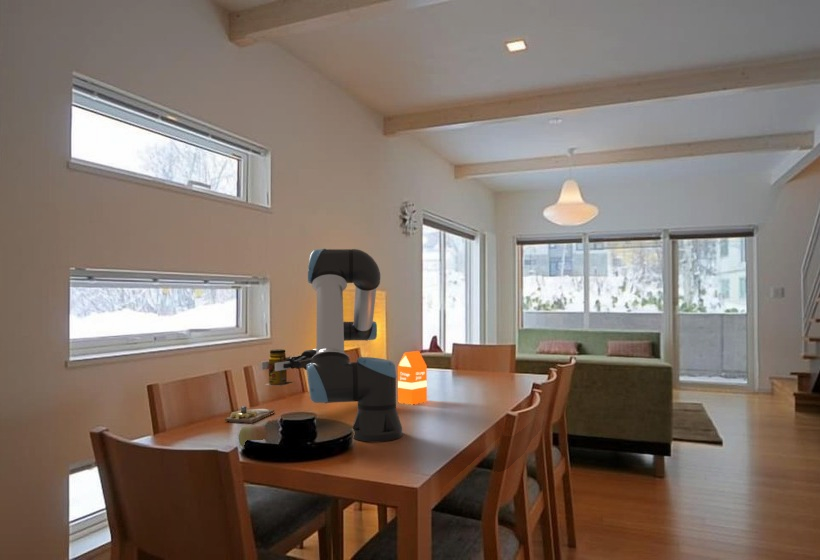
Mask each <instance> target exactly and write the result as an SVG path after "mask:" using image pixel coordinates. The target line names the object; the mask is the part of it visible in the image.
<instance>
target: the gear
mask: <svg viewBox="0 0 820 560" xmlns="http://www.w3.org/2000/svg"><path fill="white" fill-rule="evenodd" d="M247 408H248V407H247V406H241V407H240V410H238V411H231V413H230V416H231V418H236V419H240V418H245V419H248V418H249V417H256V415H257V411H252V410H248V409H247ZM247 410H248V411H247Z"/></svg>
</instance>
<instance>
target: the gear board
mask: <svg viewBox="0 0 820 560" xmlns="http://www.w3.org/2000/svg"><path fill="white" fill-rule="evenodd" d="M248 410H252V411H257V415H256V417H249V418H248V419H245V418H240V419H236V418H231V415H230V416H228V417H225V418H224V419H225V420H224V421H229V422H228V423H234V422H244V423H243V424H253V422H254V423H256V422H258V421H261V420H263V419H265V418H267V417H269V416H270V415H269V414H271V413H273V412H274V413H275V410H274V409H266V408H248V409H247V411H248ZM268 415H269V416H268ZM266 416H267V417H266ZM264 417H265V418H264ZM262 418H263V419H262ZM250 420H251V421H252V423H251V422H250ZM257 420H258V421H257ZM255 421H256V422H255Z"/></svg>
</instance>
